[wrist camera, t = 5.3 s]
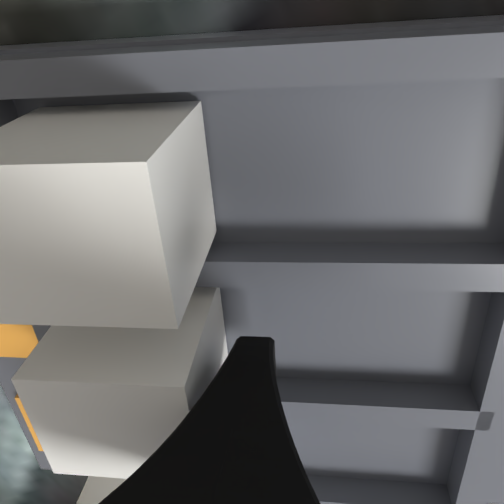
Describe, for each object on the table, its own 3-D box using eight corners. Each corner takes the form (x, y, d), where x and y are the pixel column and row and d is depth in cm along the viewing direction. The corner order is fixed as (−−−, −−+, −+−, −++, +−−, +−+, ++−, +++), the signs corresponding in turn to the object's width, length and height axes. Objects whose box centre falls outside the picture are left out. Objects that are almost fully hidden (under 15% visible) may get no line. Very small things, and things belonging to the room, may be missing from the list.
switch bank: (578, 484, 17) (605, 539, 16) (53, 448, 20) (28, 491, 19) (808, -5, 9) (916, 1, 8) (-121, 52, 12) (-192, 66, 11)
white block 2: (229, 368, 15) (203, 484, 12) (111, 363, 16) (54, 472, 12) (218, 280, 13) (184, 387, 10) (86, 279, 14) (10, 379, 11)
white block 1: (216, 230, 13) (178, 329, 9) (75, 231, 13) (-10, 323, 10) (201, 100, 11) (146, 161, 7) (39, 107, 11) (-80, 166, 8)
